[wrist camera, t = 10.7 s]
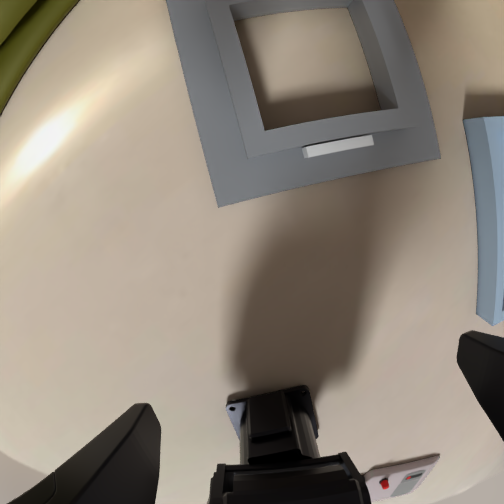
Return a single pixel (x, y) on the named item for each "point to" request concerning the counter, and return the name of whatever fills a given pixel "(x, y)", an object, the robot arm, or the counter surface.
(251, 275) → the counter surface
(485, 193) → the tray
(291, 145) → the grey square frame
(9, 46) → the spaceship
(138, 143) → the counter surface
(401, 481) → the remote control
